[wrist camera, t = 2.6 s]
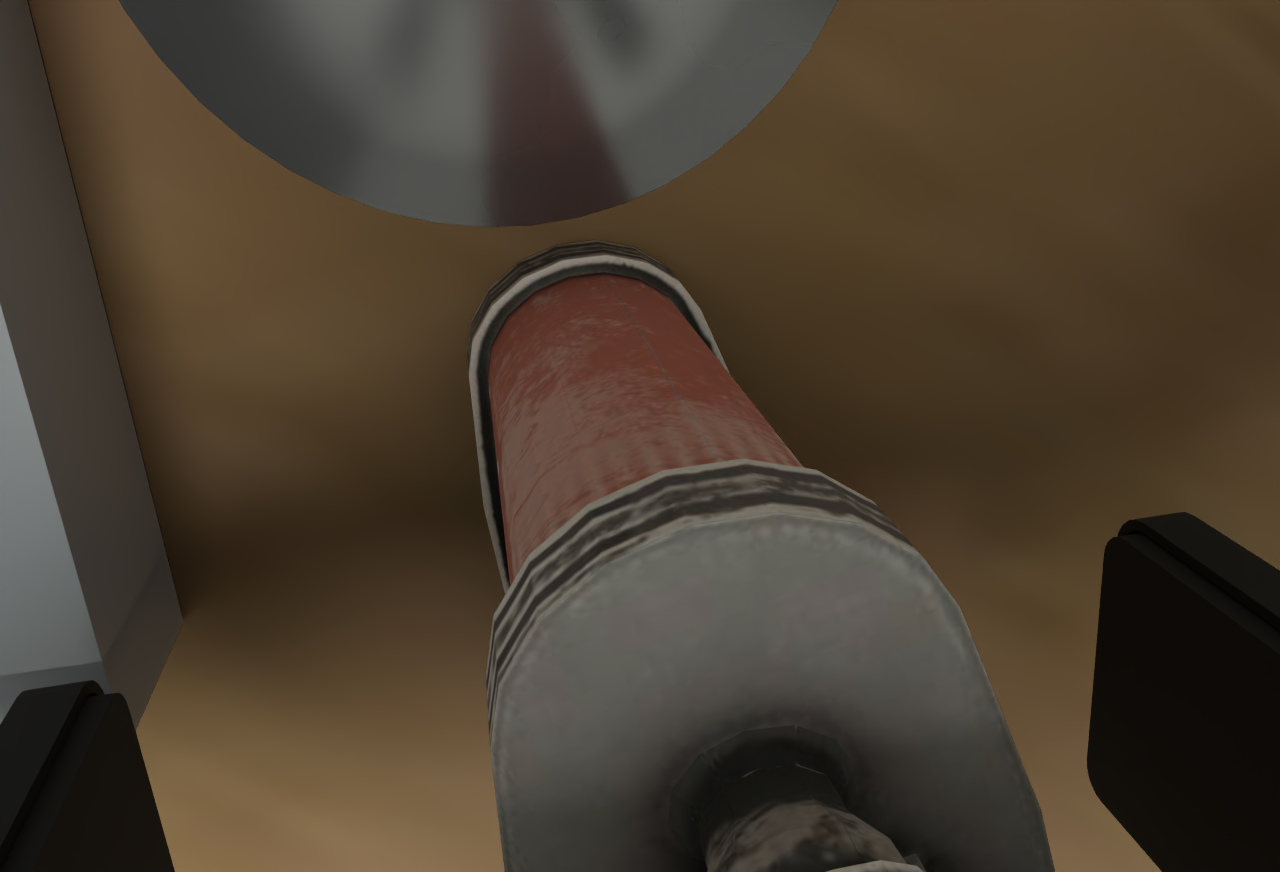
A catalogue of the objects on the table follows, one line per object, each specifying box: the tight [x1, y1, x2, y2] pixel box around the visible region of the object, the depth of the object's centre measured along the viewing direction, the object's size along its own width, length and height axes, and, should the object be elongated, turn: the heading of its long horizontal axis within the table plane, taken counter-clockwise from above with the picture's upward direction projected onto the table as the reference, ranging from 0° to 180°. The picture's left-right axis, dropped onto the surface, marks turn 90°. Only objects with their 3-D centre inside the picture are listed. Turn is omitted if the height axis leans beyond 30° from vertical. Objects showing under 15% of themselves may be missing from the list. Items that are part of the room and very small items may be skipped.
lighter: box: [468, 240, 1055, 872], centre depth 9 cm, size 8×3×10 cm, turn 14°
